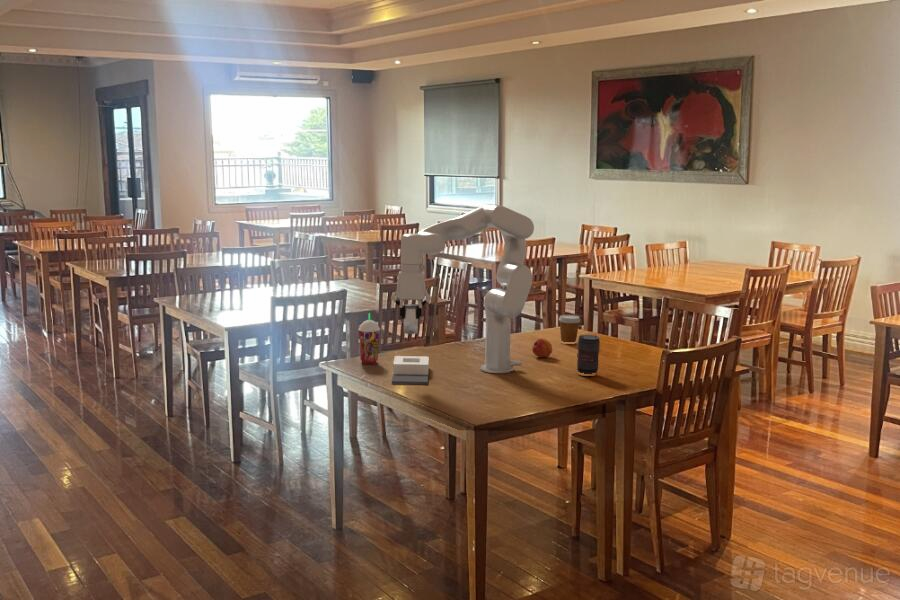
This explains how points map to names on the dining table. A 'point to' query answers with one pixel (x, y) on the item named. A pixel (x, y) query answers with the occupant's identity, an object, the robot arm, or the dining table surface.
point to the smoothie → (369, 341)
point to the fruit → (542, 348)
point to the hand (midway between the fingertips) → (410, 317)
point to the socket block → (411, 365)
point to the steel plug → (410, 318)
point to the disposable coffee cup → (569, 327)
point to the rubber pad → (409, 379)
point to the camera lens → (588, 354)
